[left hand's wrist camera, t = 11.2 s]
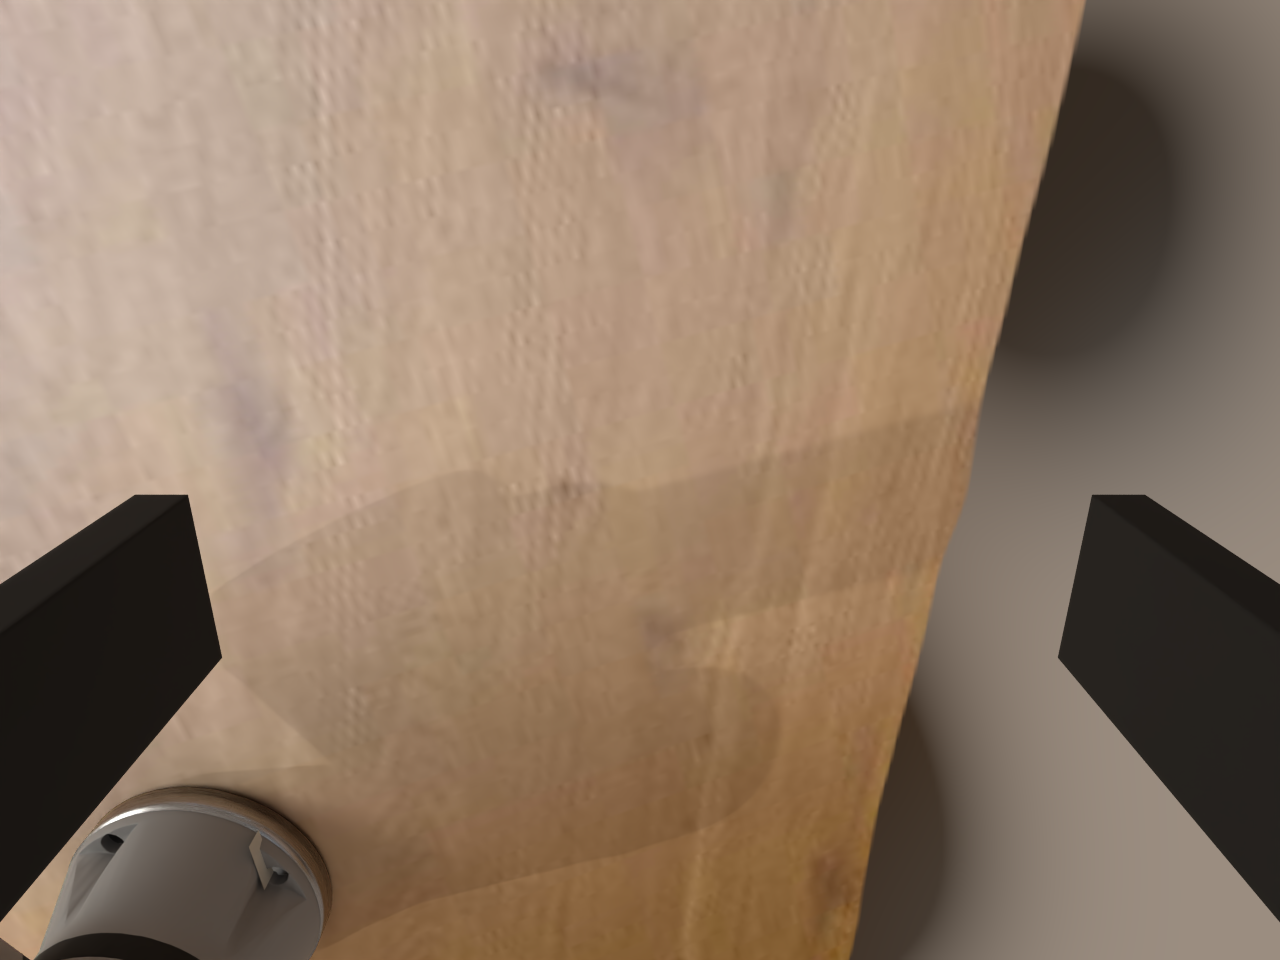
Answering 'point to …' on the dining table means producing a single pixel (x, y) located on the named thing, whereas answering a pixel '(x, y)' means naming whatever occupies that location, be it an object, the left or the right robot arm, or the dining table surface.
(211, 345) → the dining table surface
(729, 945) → the dining table surface
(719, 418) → the dining table surface
